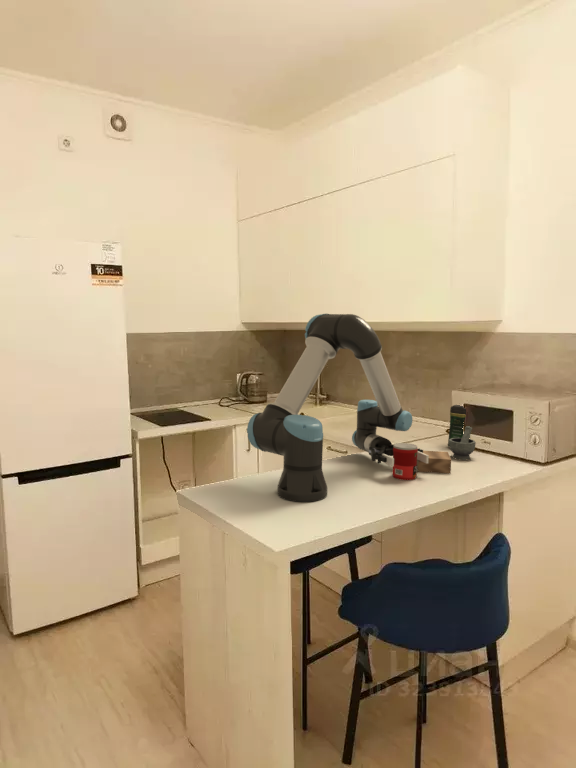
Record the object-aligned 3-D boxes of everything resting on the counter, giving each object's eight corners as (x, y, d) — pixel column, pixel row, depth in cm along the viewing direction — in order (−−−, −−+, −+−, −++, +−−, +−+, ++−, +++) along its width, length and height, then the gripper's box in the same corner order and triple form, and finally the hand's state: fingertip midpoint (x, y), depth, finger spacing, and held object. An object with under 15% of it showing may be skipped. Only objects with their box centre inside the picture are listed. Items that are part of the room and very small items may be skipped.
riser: (418, 471, 190) (418, 457, 189) (416, 463, 200) (416, 450, 200) (450, 473, 188) (451, 459, 187) (447, 465, 198) (447, 451, 198)
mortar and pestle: (466, 462, 203) (468, 431, 201) (444, 457, 209) (445, 427, 208) (480, 457, 211) (481, 427, 209) (457, 452, 217) (459, 423, 216)
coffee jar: (464, 451, 220) (466, 406, 218) (445, 448, 225) (447, 404, 223) (472, 447, 228) (475, 403, 225) (454, 444, 233) (456, 401, 230)
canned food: (418, 480, 179) (420, 448, 177) (394, 480, 179) (395, 447, 178) (413, 474, 186) (415, 443, 185) (390, 473, 187) (391, 442, 185)
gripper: (407, 453, 203) (441, 469, 183) (347, 458, 195) (377, 475, 175) (407, 434, 202) (442, 447, 182) (348, 438, 194) (377, 452, 174)
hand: (410, 461), depth 179 cm, fingers open, 12 cm apart
